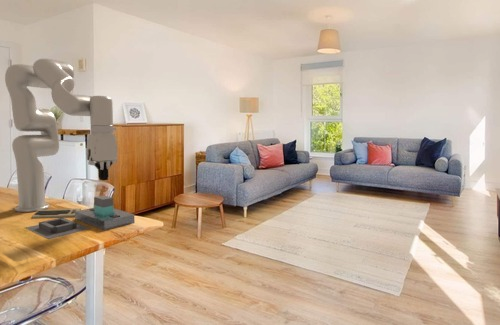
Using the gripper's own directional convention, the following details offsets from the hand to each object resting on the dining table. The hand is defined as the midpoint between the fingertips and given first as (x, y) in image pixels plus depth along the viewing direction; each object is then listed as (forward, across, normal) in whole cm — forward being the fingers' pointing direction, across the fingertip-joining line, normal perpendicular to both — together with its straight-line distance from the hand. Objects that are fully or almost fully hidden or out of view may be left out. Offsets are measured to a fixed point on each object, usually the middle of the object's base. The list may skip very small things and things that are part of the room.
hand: (103, 179), depth 125 cm
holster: (+17, +15, -4) cm, 23 cm away
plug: (+17, 0, 0) cm, 17 cm away
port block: (+17, 0, 0) cm, 17 cm away
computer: (+17, +8, -21) cm, 28 cm away
